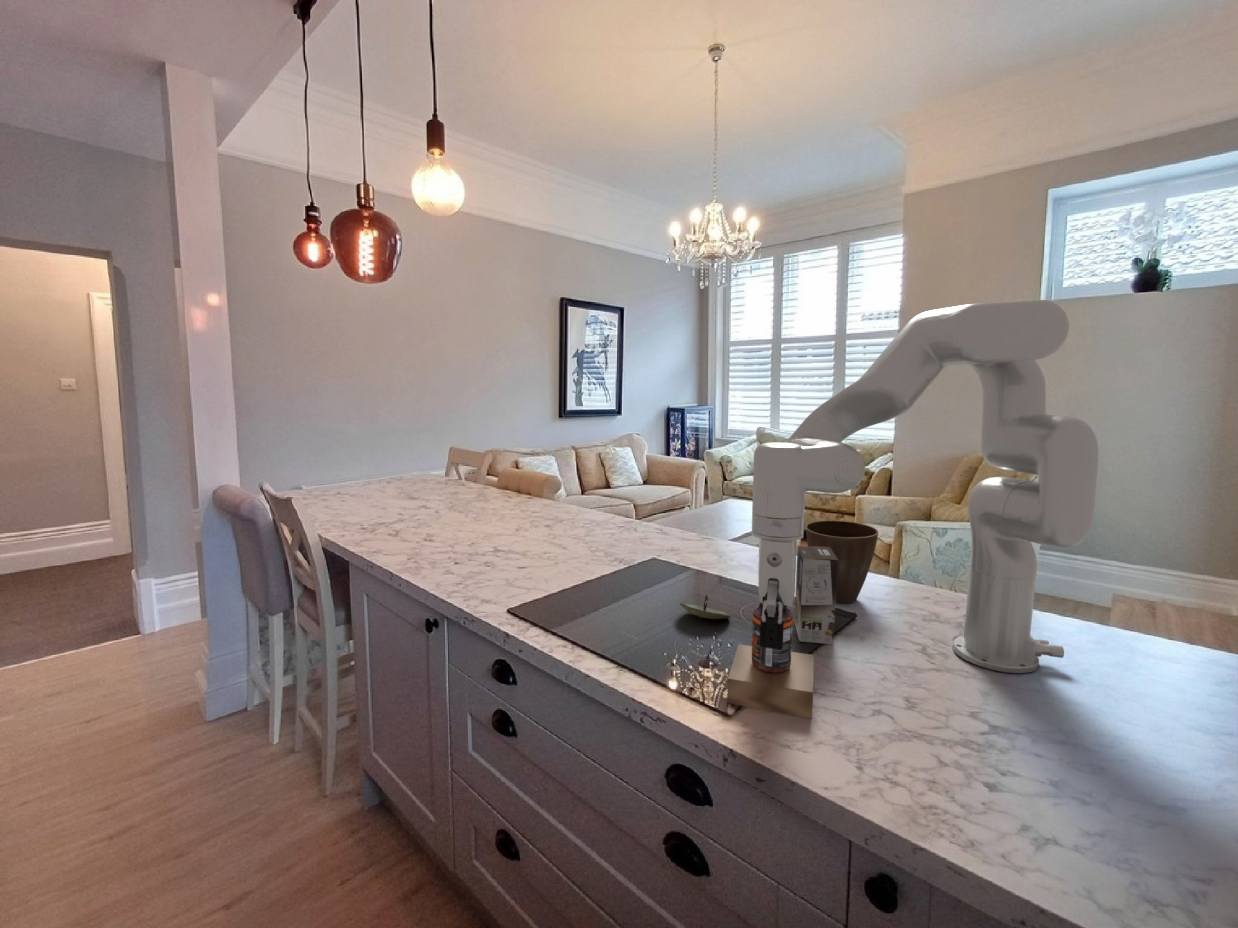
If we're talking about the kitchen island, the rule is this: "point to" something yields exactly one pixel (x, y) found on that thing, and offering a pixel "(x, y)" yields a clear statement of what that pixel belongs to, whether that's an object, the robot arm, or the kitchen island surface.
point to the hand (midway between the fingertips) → (773, 633)
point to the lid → (704, 611)
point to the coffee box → (815, 594)
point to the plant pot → (846, 553)
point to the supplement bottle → (770, 657)
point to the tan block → (772, 684)
